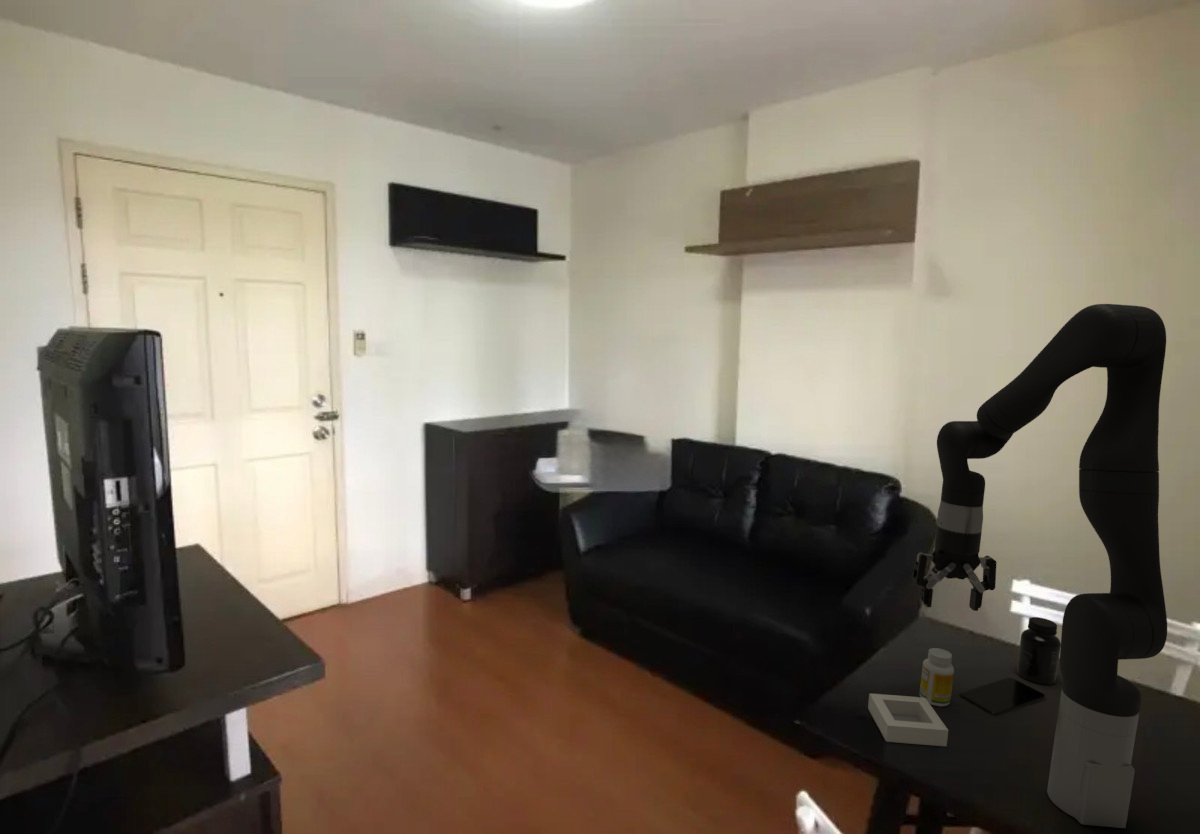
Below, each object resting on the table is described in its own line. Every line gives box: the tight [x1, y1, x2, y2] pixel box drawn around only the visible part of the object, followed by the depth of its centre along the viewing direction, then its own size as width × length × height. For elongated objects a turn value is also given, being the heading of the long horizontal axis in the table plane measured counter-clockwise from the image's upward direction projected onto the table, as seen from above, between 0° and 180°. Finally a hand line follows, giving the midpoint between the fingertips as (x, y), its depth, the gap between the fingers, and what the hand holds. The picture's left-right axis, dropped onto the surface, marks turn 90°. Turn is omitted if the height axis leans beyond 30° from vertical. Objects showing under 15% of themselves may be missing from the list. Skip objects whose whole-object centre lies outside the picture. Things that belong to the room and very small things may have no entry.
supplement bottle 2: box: [1016, 616, 1061, 686], centre depth 137 cm, size 7×7×12 cm
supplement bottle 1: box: [919, 647, 955, 707], centre depth 127 cm, size 5×5×10 cm
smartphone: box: [958, 677, 1047, 716], centre depth 130 cm, size 8×1×16 cm
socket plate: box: [867, 693, 949, 748], centre depth 119 cm, size 10×10×3 cm
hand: (950, 607), depth 128 cm, fingers open, 8 cm apart
